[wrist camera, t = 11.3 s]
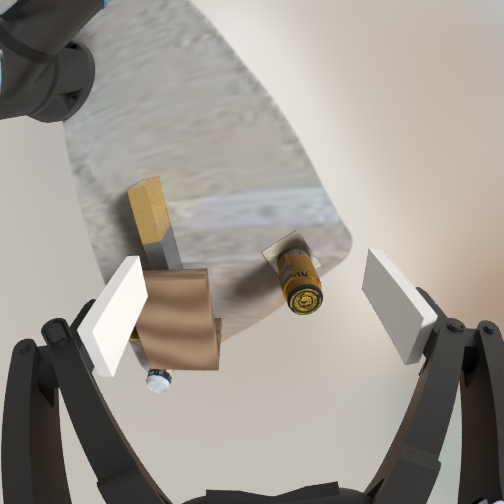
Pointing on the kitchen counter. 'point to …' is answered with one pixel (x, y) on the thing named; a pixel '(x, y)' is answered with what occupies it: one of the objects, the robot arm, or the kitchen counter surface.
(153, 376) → the beer can
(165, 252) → the two-tone wooden bar
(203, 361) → the small brown wooden table
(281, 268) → the condiment
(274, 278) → the kitchen counter surface
